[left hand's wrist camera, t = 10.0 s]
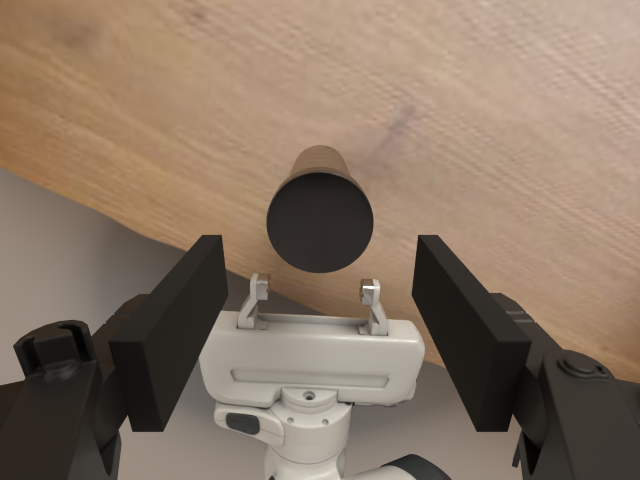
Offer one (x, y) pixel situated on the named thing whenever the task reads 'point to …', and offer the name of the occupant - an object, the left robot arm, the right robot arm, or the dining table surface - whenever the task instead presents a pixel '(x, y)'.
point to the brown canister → (319, 159)
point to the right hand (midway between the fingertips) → (315, 279)
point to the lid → (319, 220)
